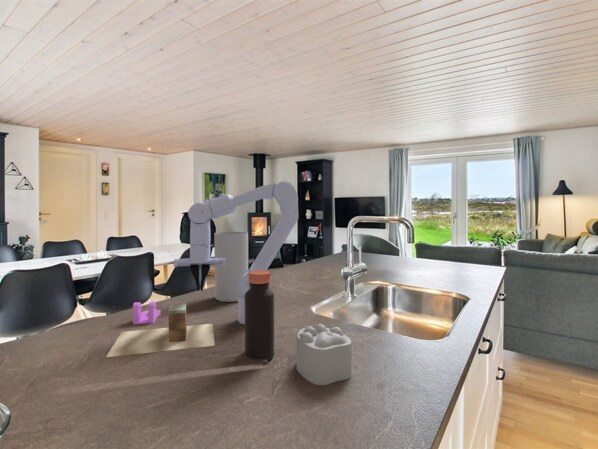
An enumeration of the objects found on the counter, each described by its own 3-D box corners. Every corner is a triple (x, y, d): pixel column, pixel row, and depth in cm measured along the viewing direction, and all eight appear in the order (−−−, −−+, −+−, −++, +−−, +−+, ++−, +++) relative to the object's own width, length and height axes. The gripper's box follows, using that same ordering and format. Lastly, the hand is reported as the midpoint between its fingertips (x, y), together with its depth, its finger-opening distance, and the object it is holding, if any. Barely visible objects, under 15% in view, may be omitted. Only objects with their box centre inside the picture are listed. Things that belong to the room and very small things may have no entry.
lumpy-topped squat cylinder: (314, 388, 66) (314, 344, 66) (287, 360, 78) (287, 323, 77) (358, 376, 71) (358, 335, 70) (326, 352, 82) (326, 317, 82)
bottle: (250, 366, 75) (250, 276, 74) (241, 354, 81) (240, 271, 80) (278, 359, 78) (278, 273, 77) (267, 348, 84) (267, 268, 83)
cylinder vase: (209, 297, 130) (208, 232, 129) (237, 292, 139) (236, 231, 137) (225, 304, 121) (225, 235, 120) (254, 298, 130) (254, 233, 128)
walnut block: (186, 332, 92) (186, 303, 92) (185, 340, 86) (185, 309, 86) (171, 333, 91) (170, 304, 91) (168, 342, 85) (168, 311, 85)
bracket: (153, 326, 99) (153, 303, 99) (133, 328, 98) (132, 304, 98) (162, 313, 112) (161, 292, 112) (144, 314, 111) (143, 293, 111)
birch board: (212, 327, 99) (212, 323, 99) (214, 349, 84) (214, 345, 84) (121, 335, 92) (121, 331, 92) (105, 361, 77) (105, 357, 77)
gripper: (224, 242, 105) (224, 285, 106) (175, 242, 101) (175, 287, 102) (226, 245, 99) (225, 291, 99) (173, 245, 95) (173, 293, 95)
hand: (200, 290), depth 100 cm, fingers closed
